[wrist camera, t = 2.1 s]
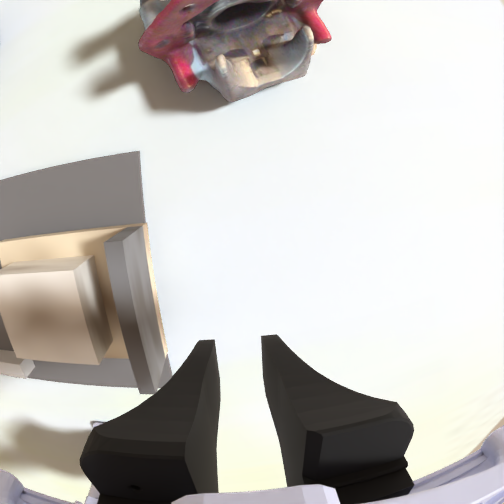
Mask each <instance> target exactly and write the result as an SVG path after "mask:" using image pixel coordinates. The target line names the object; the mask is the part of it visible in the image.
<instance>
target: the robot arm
mask: <svg viewBox="0 0 504 504" xmlns="http://www.w3.org/2000/svg"><path fill="white" fill-rule="evenodd" d="M261 343H262V365H263V379H264V386H265V392H266V397H267V401H268V404H269V408H270V411H271V415H272V418H273V421H274V425H275V428H276V431H277V435H278V438H279V442H280V447H281V453H282V458H283V464H284V470H285V476H286V482H287V487H285V488H278V489H269V490H260V491H248V492H232V493H218V476H217V452H216V448H217V433H218V422H219V411H220V377H219V370H218V362H217V355H216V347H215V340H199V341H198V342H197V344H196V345H195V347H194V349H193V350H192V352H191V353H190V355H189V356H188V358H187V359H186V360H185V362H184V363H183V364H182V366H181V367H180V368H179V369H178V371H177V372H176V373H175V374H174V375H173V376H172V377H171V379H170V380H169V381H168V382H167V383H166V384H165V385H164V386H163V387H162V388H161V389H160V390H159V391H157V392H156V393H155V394H154V395H153V396H151V397H150V398H148V399H147V400H146V401H144V402H143V403H141V404H140V405H139V406H137V407H135V408H134V409H132V410H130V411H129V412H127V413H125V414H123V415H121V416H119V417H117V418H115V419H113V420H110V421H108V422H105V423H97V422H95V423H94V424H93V430H92V432H91V433H90V435H89V437H88V440H87V442H86V445H85V447H84V450H83V452H82V455H81V457H80V466H81V468H82V470H83V472H84V473H85V475H86V476H87V477H88V479H89V480H90V481H91V483H92V484H91V487H90V490H89V494H88V496H87V497H86V500H85V504H502V503H503V502H504V425H503V426H502V427H500V428H498V429H497V430H495V431H493V432H492V433H491V434H490V435H489V436H488V437H487V438H486V439H485V441H484V442H483V444H482V446H481V449H479V450H477V451H476V452H474V453H472V454H470V455H468V456H467V457H465V458H463V459H461V460H459V461H457V462H455V463H453V464H451V465H449V466H447V467H445V468H443V469H440V470H438V471H436V472H434V473H432V474H429V475H427V476H425V477H422V478H420V479H417V480H415V481H412V479H411V477H410V475H409V474H408V472H407V470H406V468H407V466H408V462H407V461H406V459H405V457H404V454H405V452H406V450H407V448H408V445H409V443H410V441H411V439H412V436H413V432H414V427H413V424H412V422H411V421H410V419H409V418H408V416H407V414H406V413H405V412H404V410H403V409H402V408H401V407H400V406H399V404H398V403H397V402H393V401H388V400H383V399H378V398H374V397H370V396H367V395H364V394H361V393H358V392H355V391H353V390H350V389H348V388H346V387H343V386H341V385H339V384H337V383H335V382H333V381H331V380H330V379H328V378H326V377H325V376H323V375H321V374H320V373H318V372H317V371H315V370H314V369H313V368H311V367H310V366H309V365H307V364H306V363H305V362H304V361H303V360H301V359H300V358H299V357H298V356H297V355H296V354H295V353H294V352H293V351H292V350H291V349H290V348H289V347H288V346H287V345H286V344H285V343H284V342H283V341H282V340H281V338H280V337H279V336H278V335H266V336H261ZM0 504H82V503H81V502H79V501H75V503H74V502H73V503H71V502H67V501H64V500H60V499H57V498H54V497H50V496H47V495H44V494H41V493H38V492H35V491H33V490H30V489H27V488H25V487H24V486H23V485H22V483H21V482H20V481H19V480H18V479H17V478H16V477H15V476H14V475H12V474H11V473H9V472H7V471H4V470H2V469H0Z"/></svg>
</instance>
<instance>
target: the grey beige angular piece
mask: <svg viewBox="0 0 504 504" xmlns="http://www.w3.org/2000/svg"><path fill="white" fill-rule="evenodd" d="M0 261H1V266H2V269H0V313H1V316H2V319H3V322H4V325H5V328H6V331H7V334H8V336H9V339H10V342H11V344H12V347H13V349H14V352H15V354H16V357H17V358H22V359H30V360H39V361H49V362H60V363H73V364H88V365H99V364H100V363H101V361H102V359H103V358H123V359H129V360H130V364H131V367H132V370H133V374H134V377H135V380H136V383H137V386H138V389H139V392H140V394H155V393H156V392H157V389H158V385H159V381H160V377H161V374H162V370H163V366H164V363H165V359H166V355H167V352H168V349H167V344H166V339H165V335H164V329H163V324H162V319H161V314H160V308H159V303H158V297H157V291H156V285H155V278H154V272H153V265H152V258H151V251H150V243H149V235H148V227H147V223H139V224H129V225H119V226H110V227H100V228H91V229H83V230H74V231H66V232H57V233H50V234H42V235H34V236H27V237H20V238H12V239H5V240H2V241H0Z"/></svg>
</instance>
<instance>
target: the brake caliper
mask: <svg viewBox="0 0 504 504" xmlns="http://www.w3.org/2000/svg"><path fill="white" fill-rule="evenodd" d="M322 1H323V0H140V10H139V13H140V16H141V18H142V21H143V23H144V28H145V31H144V33H143V35H142V37H141V38H140V40H139V43H138V46H139V49H140V50H141V51H143V52H145V53H147V54H149V55H151V56H154V57H156V58H159V59H161V60H163V61H165V62H166V63H167V64H168V65H169V67H170V68H171V70H172V72H173V74H174V77H175V79H176V81H177V83H178V85H179V87H180V89H181V90H182V91H183V92H190V91H192V90H193V89H194V88H195V86H196V85H197V83H198V81H199V80H206V81H208V82H209V83H210V84H211V86H212V87H213V88H215V89H217V90H218V91H219V92H220V93H221V94H222V96H223V97H224V98H225V99H226V100H227V101H229V102H234V101H237V100H240V99H242V98H245V97H248V96H251V95H253V94H255V93H257V92H259V91H260V90H262V89H264V88H267V87H269V86H272V85H275V84H279V83H282V82H286V81H290V80H294V79H297V78H300V77H303V76H305V75H306V73H307V70H308V67H309V63H310V57H311V56H312V55H313V54H314V53H315V50H316V47H317V44H320V43H327V42H329V41H330V40H331V35H330V33H329V31H328V30H327V28H326V26H325V25H324V23H323V22H322V20H321V19H320V17H319V16H318V14H317V9H318V7H319V6H320V4H321V2H322Z"/></svg>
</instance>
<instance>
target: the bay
mask: <svg viewBox="0 0 504 504" xmlns="http://www.w3.org/2000/svg"><path fill="white" fill-rule="evenodd" d="M139 223H146V221H145V211H144V201H143V191H142V178H141V165H140V151H136V152H129V153H122V154H116V155H110V156H104V157H98V158H93V159H88V160H82V161H77V162H72V163H68V164H63V165H58V166H54V167H49V168H45V169H41V170H37V171H33V172H29V173H25V174H21V175H17V176H14V177H10V178H6V179H3V180H0V241H2V240H5V239H12V238H20V237H27V236H34V235H42V234H50V233H57V232H66V231H74V230H83V229H91V228H100V227H110V226H119V225H129V224H139ZM0 269H2V266H1V261H0ZM0 374H2V375H7V376H13V377H18V378H24V379H26V378H33V379H40V380H47V381H55V382H63V383H73V384H83V385H95V386H111V387H133V388H138V386H137V383H136V380H135V377H134V374H133V370H132V367H131V364H130V360H129V359H123V358H103V359H102V361H101V363H100V364H99V365H88V364H73V363H60V362H49V361H39V360H30V359H22V358H17V357H16V354H15V352H14V349H13V347H12V344H11V342H10V339H9V336H8V334H7V331H6V328H5V325H4V322H3V319H2V316H1V313H0ZM171 377H172V372H171V368H170V363H169V359H168V354H167V355H166V359H165V363H164V366H163V370H162V374H161V377H160V381H159V385H158V388H162V387H163V386H164V385H165V384H166V383H167V382H168V381H169V380H170V379H171Z"/></svg>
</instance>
